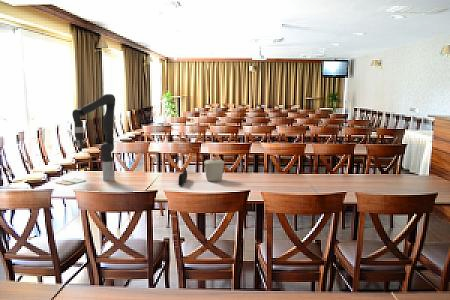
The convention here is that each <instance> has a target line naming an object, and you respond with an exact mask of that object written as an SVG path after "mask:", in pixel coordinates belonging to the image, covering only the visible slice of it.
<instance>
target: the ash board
mask: <svg viewBox="0 0 450 300" xmlns="http://www.w3.org/2000/svg"><path fill="white" fill-rule="evenodd" d="M65 180H66V179H65ZM65 180H64V179H63V180H61V181H56V182H55V184H58V185H63V186H71V185H76V184H77V183H75V182H70V181H65Z"/></svg>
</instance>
